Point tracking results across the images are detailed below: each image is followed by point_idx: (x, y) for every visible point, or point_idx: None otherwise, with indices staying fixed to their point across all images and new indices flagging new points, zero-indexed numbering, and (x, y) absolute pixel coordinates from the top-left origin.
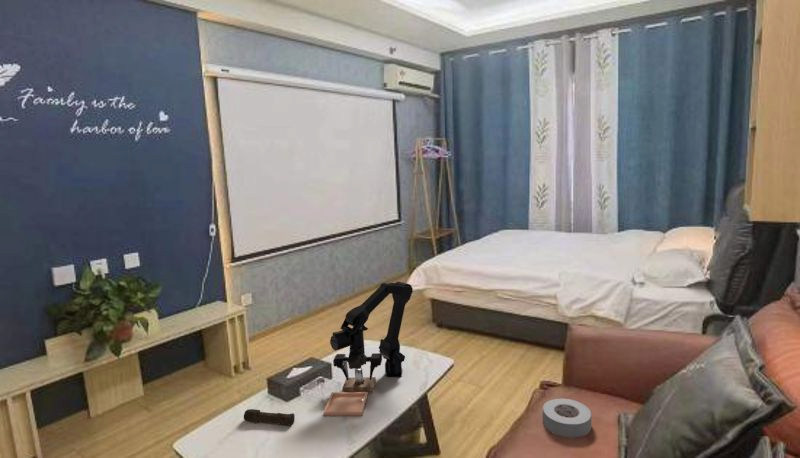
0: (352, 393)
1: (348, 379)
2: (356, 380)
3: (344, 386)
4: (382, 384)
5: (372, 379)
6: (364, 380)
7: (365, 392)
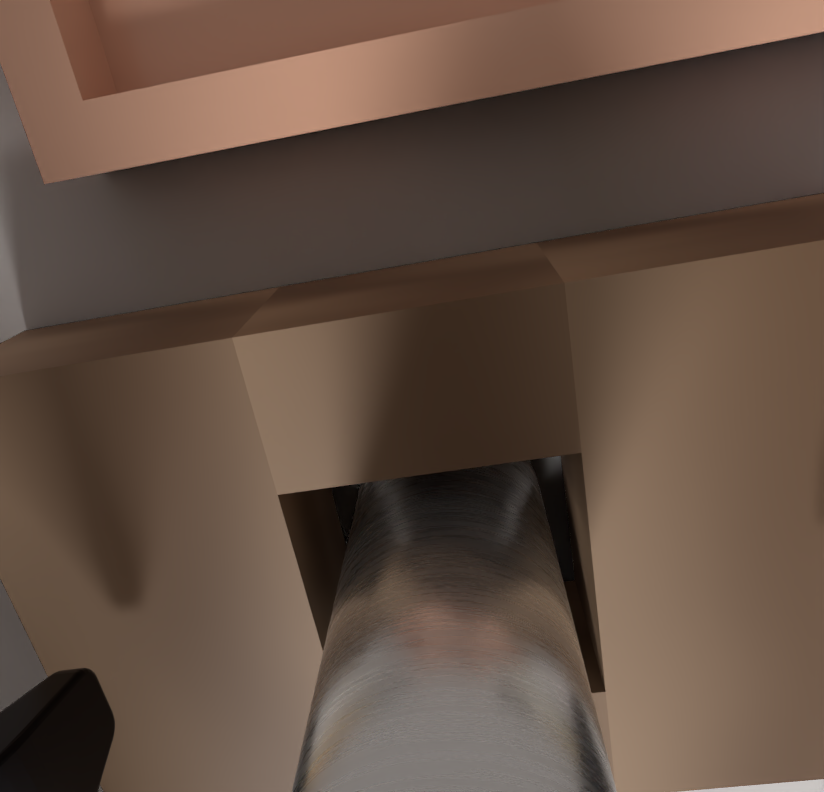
0: (505, 13)
1: (822, 696)
2: (514, 579)
3: None
4: (23, 680)
5: (147, 749)
6: None
7: (90, 147)
